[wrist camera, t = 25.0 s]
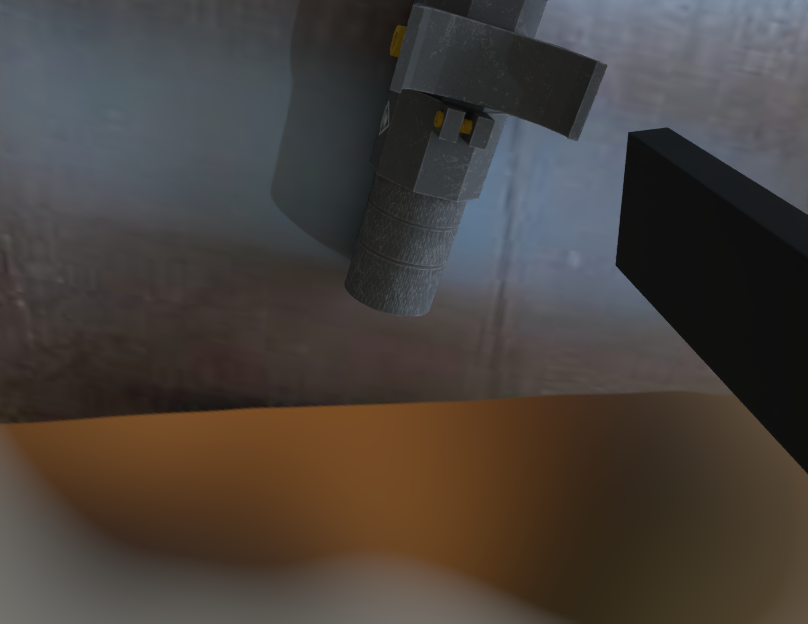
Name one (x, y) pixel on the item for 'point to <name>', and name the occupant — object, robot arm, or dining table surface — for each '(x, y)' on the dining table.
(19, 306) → the dining table surface
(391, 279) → the laser sight
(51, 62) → the dining table surface
